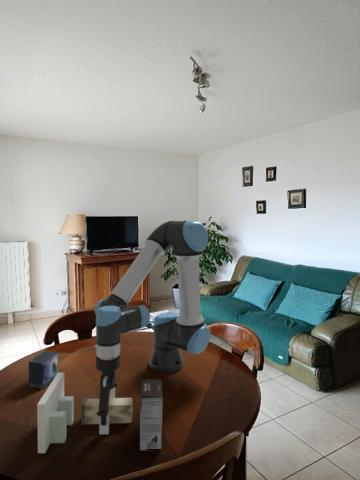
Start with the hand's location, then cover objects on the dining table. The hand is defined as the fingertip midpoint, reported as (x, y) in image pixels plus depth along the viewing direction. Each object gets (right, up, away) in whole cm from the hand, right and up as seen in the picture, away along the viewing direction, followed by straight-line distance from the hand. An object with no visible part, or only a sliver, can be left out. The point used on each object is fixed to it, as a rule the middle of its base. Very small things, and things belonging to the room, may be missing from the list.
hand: (107, 419), depth 102 cm
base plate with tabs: (-12, 0, -6) cm, 14 cm away
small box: (-31, +1, +23) cm, 38 cm away
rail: (0, 0, 0) cm, 0 cm away
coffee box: (+15, -1, -9) cm, 17 cm away
